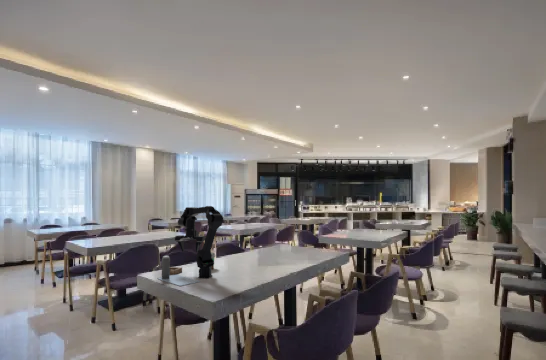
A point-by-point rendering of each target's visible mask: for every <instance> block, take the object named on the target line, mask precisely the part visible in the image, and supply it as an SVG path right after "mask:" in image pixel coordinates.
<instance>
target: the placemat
mask: <svg viewBox="0 0 546 360" xmlns="http://www.w3.org/2000/svg"><path fill="white" fill-rule="evenodd" d="M157 280H159V281H162V282H166V283H169V284H172V285H174V286H179V287H183V286H187V285H192V284H196V283H200V282H201V280H197V279H195V278H191V277H187V276H183V275H180V274H171V275H170V278H169V279H162V276H161V277H158V278H157Z"/></svg>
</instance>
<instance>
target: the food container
mask: <svg viewBox="0 0 546 360" xmlns="http://www.w3.org/2000/svg"><path fill="white" fill-rule="evenodd" d="M211 254H212V257H211V258H212V259H213V261H214V262H215V258H216V254H215V252H212V251H211ZM204 264H206V263H204ZM214 267H215V265H214V266H212V270H214Z"/></svg>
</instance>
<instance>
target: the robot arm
mask: <svg viewBox="0 0 546 360" xmlns="http://www.w3.org/2000/svg"><path fill="white" fill-rule="evenodd" d="M200 214H205V218H206V219H207V226H208V229H207V233H206V236H205V235H200V232H199V231H197V228H196V221H198V218H197V217H196V216H199V215H200ZM223 222H224V216H223V215H222V213H221V212H220V211H218V210H217V209H215V207H214V206H212V205H206V206H202V207H200V206H199V207H196V206H194V207H193V206H189V207H185V208H184V210H183V212H182V214H181V215H180V217H179V218H178V220H177V225H178V226H180V227H185V228H184V231H185V234H184V235H181V234H180V235H179V234H178V235H175V237H174V241H176V243H178V245H179V247H180V250H181V251H182V252H183V253H184V252H185V241H186V240H188V241H189V240H190V241H191V240H192V241H195V252H196V255H195V256H196V259H195V260H196V266H197V268H199V269H198V278H199V279H210V278H211V277H213V274H212V271H213V269H212V266H214V267H215V260H214V261H213V259H212V258H211V257H212V254H211V252H212V247H213V243H214V241H215V236H216V234H217V232H218V231H217V230H218V229H219V228H220V227H221V226H222V225H223ZM202 243H203V244H202ZM201 244H202V245H203V246H202V248H201V249H199V248H200V247H201ZM204 263H206V264H204Z"/></svg>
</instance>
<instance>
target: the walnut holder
mask: <svg viewBox="0 0 546 360" xmlns="http://www.w3.org/2000/svg"><path fill="white" fill-rule="evenodd" d="M181 272H183V267H180V266H178V267H177V266H175V267H174V266H170V275H179V274H180V273H181Z"/></svg>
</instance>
